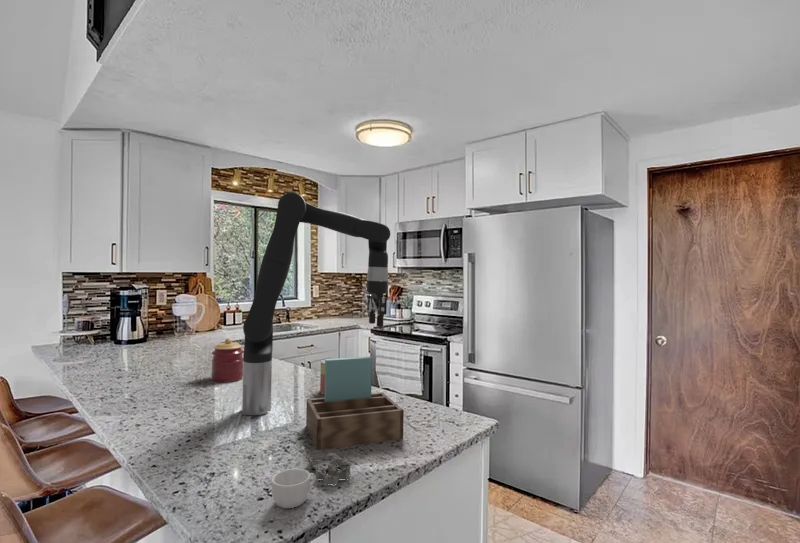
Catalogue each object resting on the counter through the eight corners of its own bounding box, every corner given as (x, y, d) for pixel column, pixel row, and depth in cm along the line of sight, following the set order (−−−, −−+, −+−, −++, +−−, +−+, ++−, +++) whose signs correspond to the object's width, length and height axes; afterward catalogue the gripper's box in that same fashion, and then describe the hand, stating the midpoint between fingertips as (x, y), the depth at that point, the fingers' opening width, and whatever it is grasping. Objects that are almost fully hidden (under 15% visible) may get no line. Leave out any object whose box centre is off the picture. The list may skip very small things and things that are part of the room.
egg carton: (303, 472, 102) (303, 455, 102) (330, 463, 107) (330, 447, 107) (327, 490, 94) (327, 471, 94) (355, 479, 99) (355, 461, 99)
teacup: (283, 518, 83) (284, 490, 83) (263, 502, 88) (264, 476, 88) (325, 499, 90) (326, 473, 90) (305, 485, 95) (305, 461, 95)
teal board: (325, 428, 126) (326, 360, 126) (323, 425, 128) (325, 359, 128) (370, 423, 131) (371, 357, 131) (368, 420, 133) (369, 356, 133)
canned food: (329, 397, 162) (330, 365, 162) (314, 390, 170) (315, 360, 170) (354, 392, 169) (354, 361, 169) (338, 385, 178) (339, 357, 178)
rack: (316, 455, 110) (317, 419, 110) (306, 431, 127) (306, 399, 127) (402, 444, 119) (403, 410, 119) (382, 422, 136) (382, 392, 136)
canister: (249, 378, 187) (250, 338, 187) (223, 384, 176) (224, 342, 176) (231, 374, 194) (231, 335, 194) (204, 379, 183) (205, 338, 183)
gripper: (361, 279, 158) (359, 322, 158) (374, 280, 145) (372, 327, 145) (380, 279, 161) (379, 322, 161) (394, 280, 148) (392, 327, 148)
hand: (375, 325), depth 153 cm, fingers open, 8 cm apart
